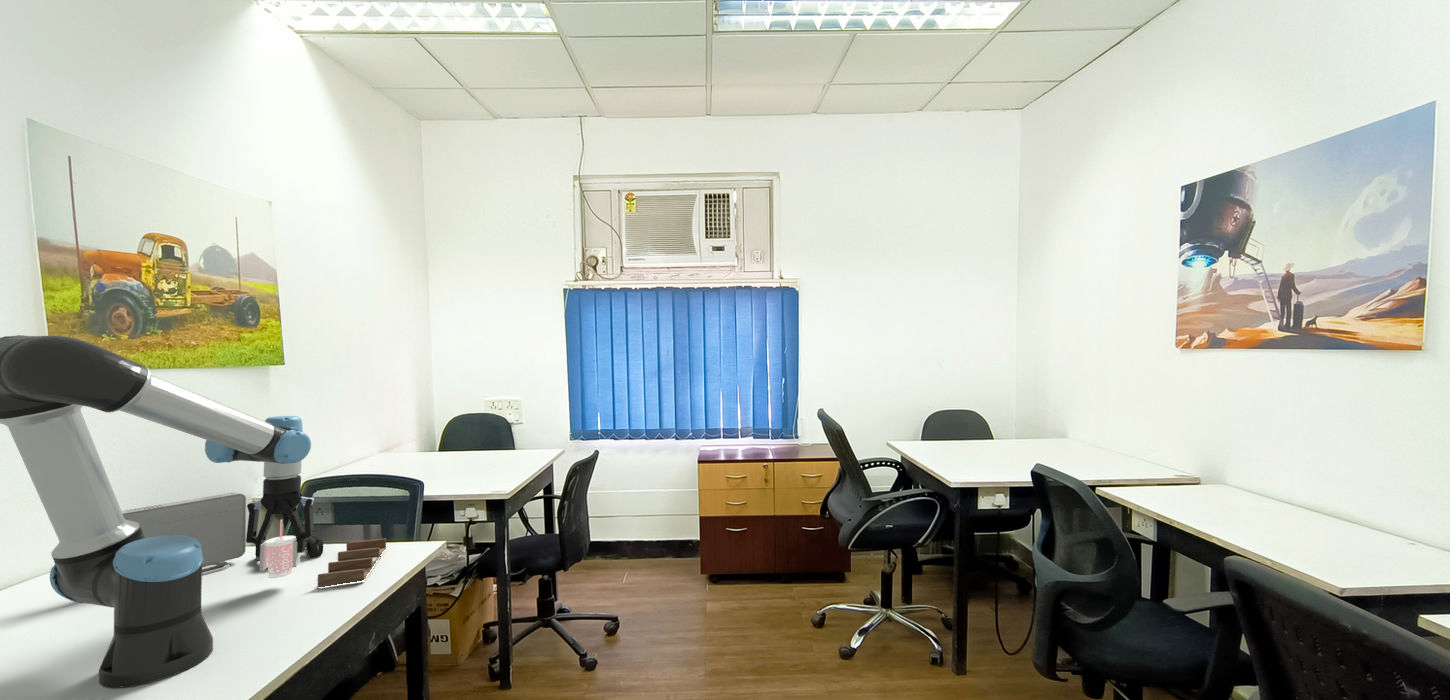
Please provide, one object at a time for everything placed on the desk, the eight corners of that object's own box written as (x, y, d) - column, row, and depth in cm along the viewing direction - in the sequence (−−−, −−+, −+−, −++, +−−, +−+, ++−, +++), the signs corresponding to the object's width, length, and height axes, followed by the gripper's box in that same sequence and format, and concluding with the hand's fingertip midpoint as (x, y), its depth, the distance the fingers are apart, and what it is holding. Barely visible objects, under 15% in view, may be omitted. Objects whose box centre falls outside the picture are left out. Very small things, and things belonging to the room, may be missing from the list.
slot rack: (363, 582, 141) (363, 569, 141) (317, 589, 137) (317, 575, 137) (386, 549, 165) (386, 538, 165) (347, 554, 161) (347, 542, 161)
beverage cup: (267, 581, 133) (269, 524, 134) (261, 575, 137) (262, 520, 138) (298, 573, 138) (299, 519, 139) (291, 568, 142) (292, 514, 142)
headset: (275, 536, 147) (247, 531, 158) (276, 571, 146) (248, 565, 157) (331, 522, 159) (301, 519, 169) (333, 556, 158) (303, 550, 168)
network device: (114, 598, 132) (115, 516, 132) (106, 590, 136) (106, 511, 136) (248, 563, 153) (248, 493, 154) (236, 557, 158) (237, 489, 158)
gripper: (331, 471, 145) (329, 557, 145) (243, 476, 138) (240, 566, 138) (322, 476, 138) (319, 567, 138) (228, 482, 131) (225, 577, 131)
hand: (280, 567), depth 138 cm, fingers closed on beverage cup, 6 cm apart
